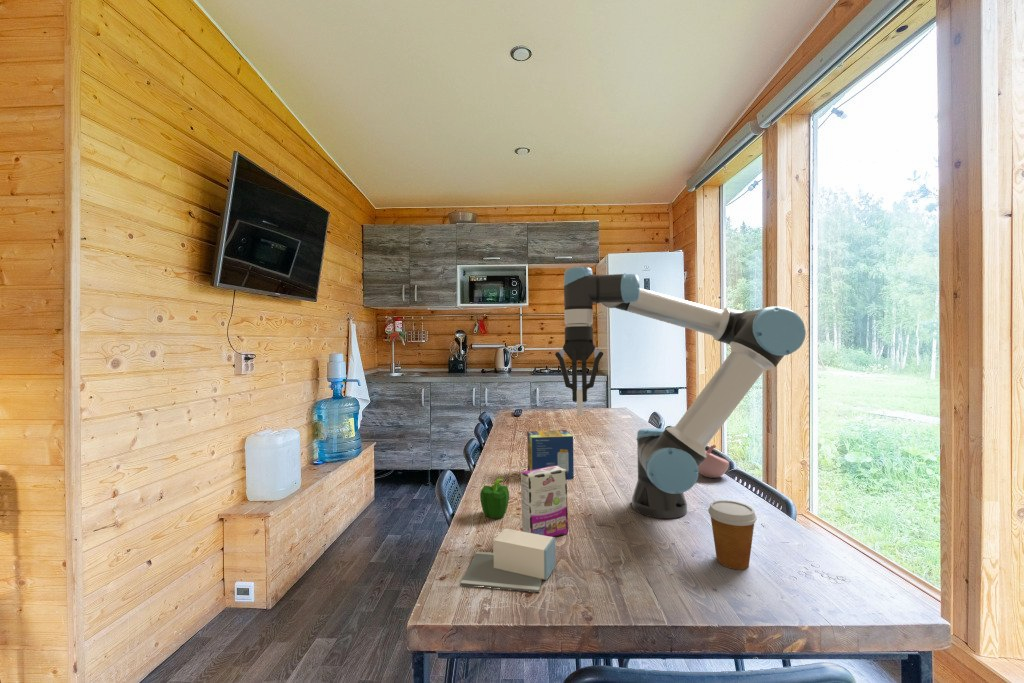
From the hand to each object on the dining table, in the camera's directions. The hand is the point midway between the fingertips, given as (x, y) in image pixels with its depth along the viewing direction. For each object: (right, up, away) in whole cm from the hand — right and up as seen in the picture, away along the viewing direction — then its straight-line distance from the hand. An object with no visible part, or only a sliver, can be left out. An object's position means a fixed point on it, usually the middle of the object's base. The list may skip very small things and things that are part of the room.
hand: (579, 414), depth 114 cm
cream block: (-10, -26, -25) cm, 37 cm away
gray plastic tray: (-20, -30, -23) cm, 43 cm away
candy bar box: (-10, -30, -6) cm, 32 cm away
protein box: (-4, -30, +42) cm, 51 cm away
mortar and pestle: (+52, -29, +38) cm, 71 cm away
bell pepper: (-23, -30, +6) cm, 38 cm away
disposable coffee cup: (+30, -29, -21) cm, 47 cm away
